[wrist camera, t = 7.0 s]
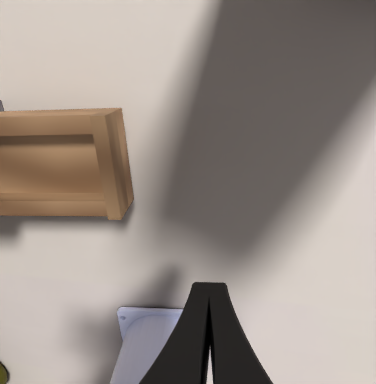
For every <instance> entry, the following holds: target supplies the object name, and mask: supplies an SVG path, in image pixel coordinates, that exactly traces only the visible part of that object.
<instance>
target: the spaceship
mask: <svg viewBox="0 0 376 384" xmlns="http://www.w3.org/2000/svg"><path fill="white" fill-rule="evenodd" d="M6 382H7V373H6V370H5V368H4V367H3V366H2V365H1V363H0V384H5V383H6Z"/></svg>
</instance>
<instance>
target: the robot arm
mask: <svg viewBox="0 0 376 384" xmlns="http://www.w3.org/2000/svg"><path fill="white" fill-rule="evenodd" d="M117 316H118V321H119V326H120V331H121V336H122V341H123V344H122V347H121V350H120V353H119V356H118V359H117V362H116V365H115V368H114V371H113V375H112V378H111V381H110V384H206V381H207V371H208V360H209V350H210V349H211V361H212V374H213V384H273V383H272V381H271V380H270V378H269V377H268V375H267V373H266V372H265V370H264V368H263V367H262V365H261V363H260V362H259V360H258V358H257V356H256V355H255V353H254V351H253V349H252V347H251V345H250V343H249V341H248V339H247V338H246V335H245V333H244V331H243V329H242V327H241V325H240V322H239V320H238V318H237V316H236V313H235V311H234V308H233V305H232V303H231V300H230V296H229V293H228V289H227V285H226V284H225V283H212V282H195V283H193V284H192V288H191V291H190V294H189V297H188V300H187V302H186V304H185V307H184V309H163V308H137V307H120V308H119V309H118V311H117Z"/></svg>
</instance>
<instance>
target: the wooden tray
mask: <svg viewBox="0 0 376 384" xmlns="http://www.w3.org/2000/svg"><path fill="white" fill-rule="evenodd" d="M133 199H134V197H133V190H132V182H131V175H130V167H129V160H128V152H127V145H126V137H125V129H124V122H123V114H122V108H103V109H69V110H35V111H4V109H3V106H2V103H1V100H0V215H9V216H108V220H121V219H122V218H123V216H124V214H125V213H126V211H127V209H128V208H129V206H130V204H131V203H132V201H133Z"/></svg>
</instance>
